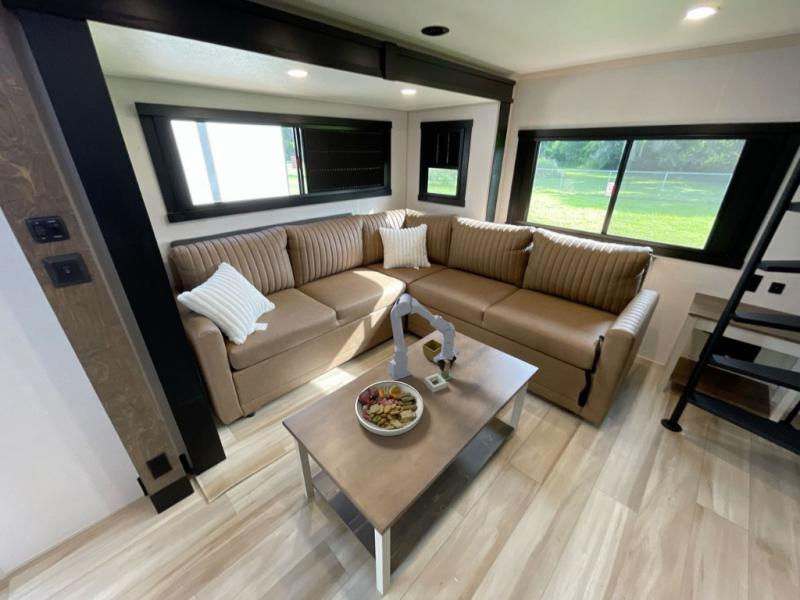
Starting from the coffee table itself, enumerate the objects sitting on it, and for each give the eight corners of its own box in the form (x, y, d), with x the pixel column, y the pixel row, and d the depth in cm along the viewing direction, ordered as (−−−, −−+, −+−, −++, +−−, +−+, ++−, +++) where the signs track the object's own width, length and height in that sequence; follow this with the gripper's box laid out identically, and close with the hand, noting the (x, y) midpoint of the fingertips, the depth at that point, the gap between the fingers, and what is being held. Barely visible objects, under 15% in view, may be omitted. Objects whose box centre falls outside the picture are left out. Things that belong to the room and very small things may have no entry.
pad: (443, 381, 156) (443, 381, 156) (436, 374, 160) (436, 374, 160) (452, 378, 158) (453, 377, 158) (446, 371, 163) (446, 370, 163)
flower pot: (443, 358, 173) (444, 345, 169) (433, 365, 168) (434, 351, 164) (431, 351, 179) (432, 338, 175) (421, 357, 173) (422, 344, 170)
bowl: (428, 395, 148) (429, 382, 144) (414, 447, 122) (415, 433, 118) (369, 383, 155) (369, 371, 151) (344, 430, 129) (343, 417, 125)
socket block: (432, 392, 149) (433, 387, 147) (424, 382, 155) (424, 378, 154) (446, 387, 152) (446, 382, 151) (437, 377, 158) (437, 373, 157)
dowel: (443, 378, 156) (445, 365, 153) (439, 373, 160) (440, 361, 156) (450, 376, 158) (451, 363, 154) (446, 371, 161) (447, 359, 158)
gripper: (440, 355, 145) (438, 378, 151) (464, 347, 151) (461, 369, 157) (431, 347, 151) (430, 369, 157) (455, 340, 157) (453, 361, 163)
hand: (445, 368), depth 157 cm, fingers closed on dowel, 4 cm apart
